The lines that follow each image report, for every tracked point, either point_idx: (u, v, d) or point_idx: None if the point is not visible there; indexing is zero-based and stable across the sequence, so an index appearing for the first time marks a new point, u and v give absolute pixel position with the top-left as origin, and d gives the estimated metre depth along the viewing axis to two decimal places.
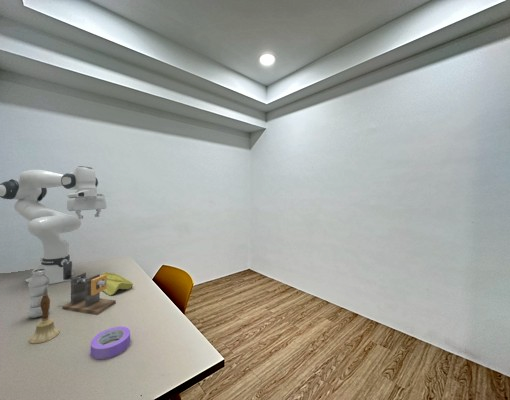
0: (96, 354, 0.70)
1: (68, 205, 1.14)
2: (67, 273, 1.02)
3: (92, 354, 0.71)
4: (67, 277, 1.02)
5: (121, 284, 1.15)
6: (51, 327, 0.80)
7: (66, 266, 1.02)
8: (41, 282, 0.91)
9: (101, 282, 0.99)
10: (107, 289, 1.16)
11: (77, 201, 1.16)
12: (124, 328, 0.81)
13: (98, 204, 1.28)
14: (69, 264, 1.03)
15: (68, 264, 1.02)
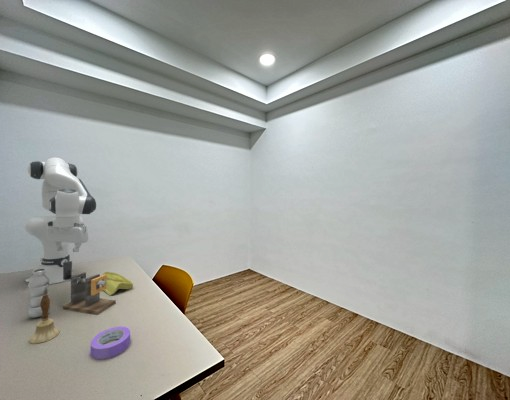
0: (96, 354, 0.70)
1: None
2: (67, 273, 1.02)
3: (92, 354, 0.71)
4: (67, 277, 1.02)
5: (121, 284, 1.15)
6: (51, 327, 0.80)
7: (66, 266, 1.02)
8: (41, 282, 0.91)
9: (101, 282, 0.99)
10: (107, 289, 1.16)
11: (51, 231, 1.02)
12: (124, 328, 0.81)
13: (72, 237, 1.00)
14: (69, 264, 1.03)
15: (68, 264, 1.02)
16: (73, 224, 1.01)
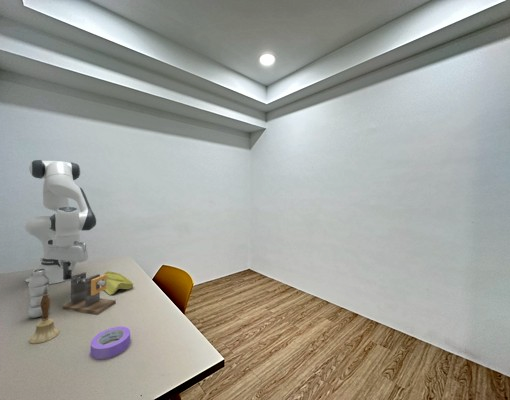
0: (96, 354, 0.70)
1: None
2: (67, 273, 1.02)
3: (92, 354, 0.71)
4: (67, 277, 1.02)
5: (121, 284, 1.15)
6: (51, 327, 0.80)
7: (66, 266, 1.02)
8: (41, 282, 0.91)
9: (101, 282, 0.99)
10: (108, 288, 1.17)
11: (51, 249, 1.02)
12: (124, 328, 0.81)
13: (72, 255, 1.00)
14: (69, 264, 1.03)
15: (68, 264, 1.02)
16: (73, 243, 1.01)
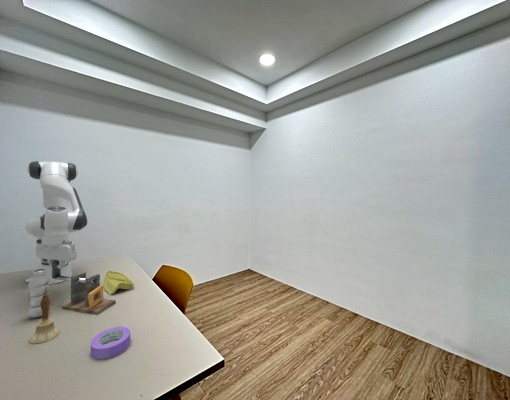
0: (96, 354, 0.70)
1: None
2: (56, 272, 1.03)
3: (92, 354, 0.71)
4: (56, 276, 1.03)
5: (121, 284, 1.15)
6: (51, 327, 0.80)
7: (55, 265, 1.03)
8: (41, 282, 0.91)
9: None
10: (108, 288, 1.17)
11: (40, 248, 1.04)
12: (124, 328, 0.81)
13: (60, 254, 1.02)
14: (58, 263, 1.04)
15: (57, 263, 1.03)
16: (62, 242, 1.02)
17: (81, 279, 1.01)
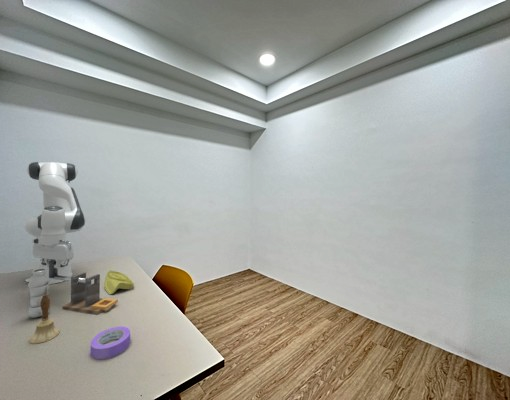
0: (96, 354, 0.70)
1: None
2: (53, 272, 1.04)
3: (92, 354, 0.71)
4: (53, 275, 1.04)
5: (121, 284, 1.15)
6: (51, 327, 0.80)
7: (52, 264, 1.03)
8: (41, 282, 0.91)
9: None
10: (109, 288, 1.18)
11: (37, 247, 1.04)
12: (124, 328, 0.81)
13: (57, 254, 1.02)
14: (55, 262, 1.04)
15: (54, 262, 1.04)
16: (58, 241, 1.03)
17: (78, 279, 1.01)
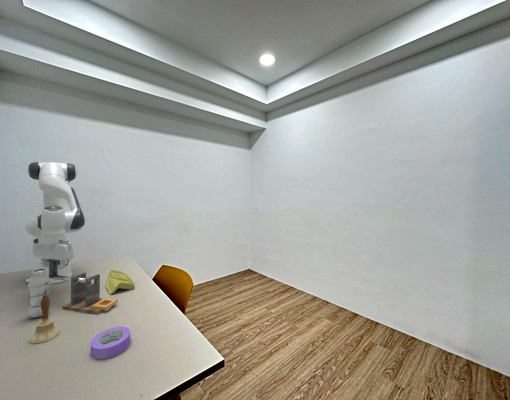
0: (96, 354, 0.70)
1: None
2: (53, 272, 1.04)
3: (92, 354, 0.71)
4: (53, 275, 1.04)
5: (121, 284, 1.15)
6: (51, 327, 0.80)
7: (52, 264, 1.03)
8: (41, 282, 0.91)
9: None
10: (110, 287, 1.18)
11: (37, 247, 1.04)
12: (124, 328, 0.81)
13: (57, 254, 1.02)
14: (55, 262, 1.04)
15: (54, 262, 1.04)
16: (58, 241, 1.03)
17: (78, 279, 1.01)
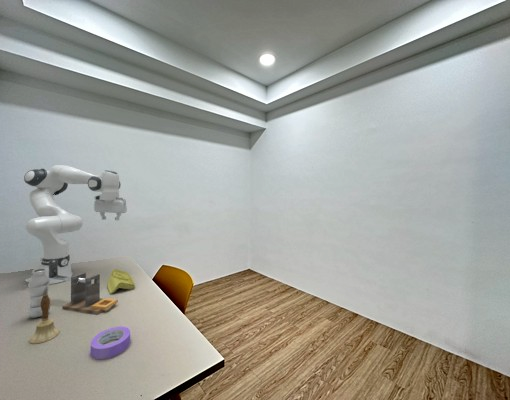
0: (96, 354, 0.70)
1: None
2: (53, 272, 1.04)
3: (92, 354, 0.71)
4: (53, 275, 1.04)
5: (121, 283, 1.16)
6: (51, 327, 0.80)
7: (52, 264, 1.03)
8: (41, 282, 0.91)
9: None
10: (111, 287, 1.19)
11: (98, 203, 1.30)
12: (124, 328, 0.81)
13: (115, 208, 1.28)
14: (55, 262, 1.04)
15: (54, 262, 1.04)
16: (115, 198, 1.29)
17: (78, 279, 1.01)
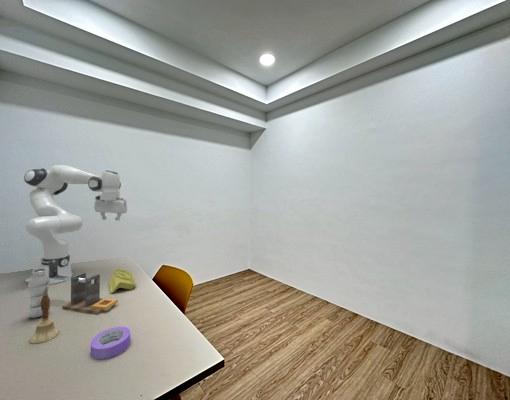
0: (96, 354, 0.70)
1: None
2: (53, 272, 1.04)
3: (92, 354, 0.71)
4: (53, 275, 1.04)
5: (121, 283, 1.16)
6: (51, 327, 0.80)
7: (52, 264, 1.03)
8: (41, 282, 0.91)
9: None
10: (112, 286, 1.20)
11: (98, 203, 1.30)
12: (124, 328, 0.81)
13: (115, 208, 1.28)
14: (55, 262, 1.04)
15: (54, 262, 1.04)
16: (116, 198, 1.29)
17: (78, 279, 1.01)
